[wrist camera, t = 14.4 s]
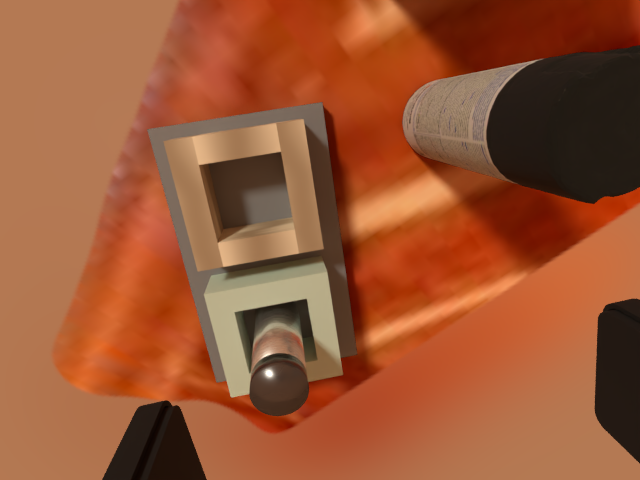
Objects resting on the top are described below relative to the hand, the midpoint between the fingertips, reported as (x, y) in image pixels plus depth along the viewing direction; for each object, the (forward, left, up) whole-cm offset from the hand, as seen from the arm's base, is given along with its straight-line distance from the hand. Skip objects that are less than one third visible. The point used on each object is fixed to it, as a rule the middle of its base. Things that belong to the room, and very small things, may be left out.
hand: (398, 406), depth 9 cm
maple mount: (+4, -1, -27) cm, 27 cm away
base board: (+4, +5, -28) cm, 29 cm away
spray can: (-13, -4, -29) cm, 31 cm away
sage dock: (+4, +11, -27) cm, 29 cm away
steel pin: (+4, +11, -27) cm, 29 cm away
